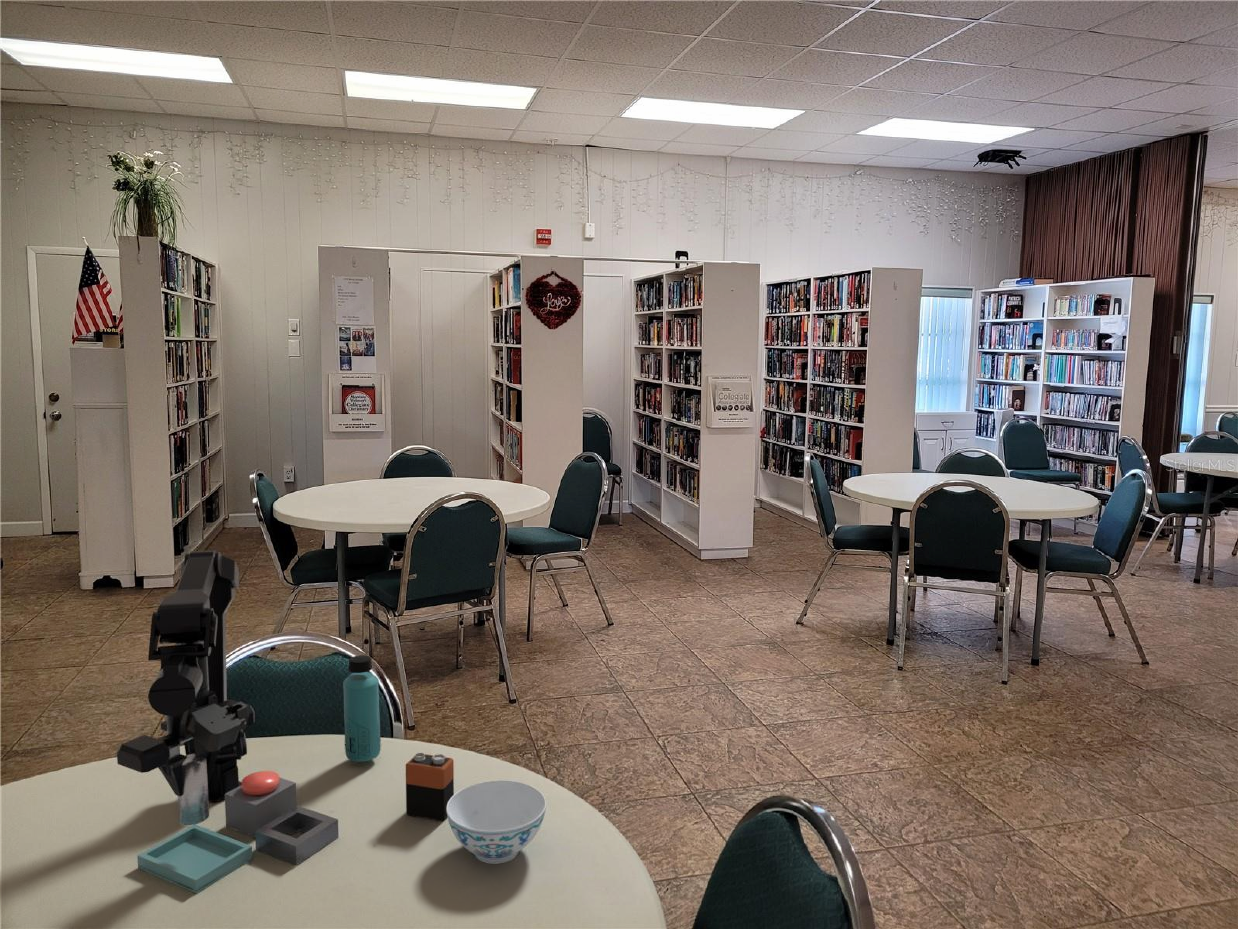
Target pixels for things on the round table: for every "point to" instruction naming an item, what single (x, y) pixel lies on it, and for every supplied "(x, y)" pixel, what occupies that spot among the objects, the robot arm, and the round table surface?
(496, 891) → the round table surface
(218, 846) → the tray
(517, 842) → the chinaware
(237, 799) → the block
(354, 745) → the beverage bottle
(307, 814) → the socket
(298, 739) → the round table surface
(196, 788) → the shiny silver cylinder
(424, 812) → the battery
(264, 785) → the release button
